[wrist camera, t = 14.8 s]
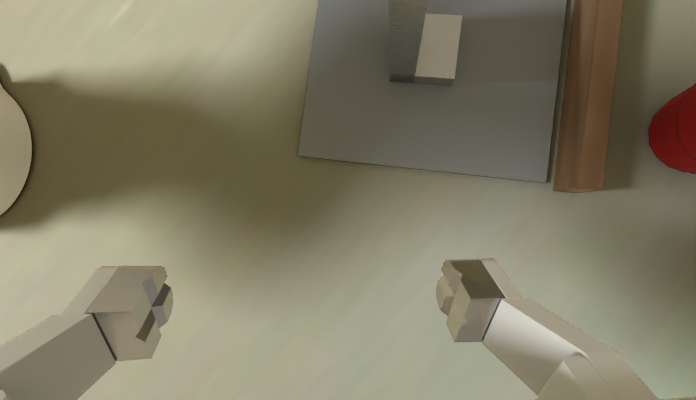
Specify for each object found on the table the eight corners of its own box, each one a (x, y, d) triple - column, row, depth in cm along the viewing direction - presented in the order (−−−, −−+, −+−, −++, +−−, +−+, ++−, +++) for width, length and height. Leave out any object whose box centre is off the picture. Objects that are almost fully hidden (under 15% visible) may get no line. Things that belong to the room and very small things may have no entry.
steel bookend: (389, 81, 27) (388, -7, 16) (397, 23, 27) (400, -104, 16) (450, 86, 27) (492, -3, 16) (458, 26, 27) (505, -104, 16)
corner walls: (292, 161, 28) (278, 153, 25) (321, -49, 29) (311, -85, 25) (574, 192, 25) (603, 189, 22) (600, -43, 26) (633, -82, 22)
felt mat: (298, 156, 28) (297, 155, 28) (323, -23, 29) (322, -27, 28) (543, 183, 26) (546, 182, 25) (566, -15, 26) (568, -19, 26)
